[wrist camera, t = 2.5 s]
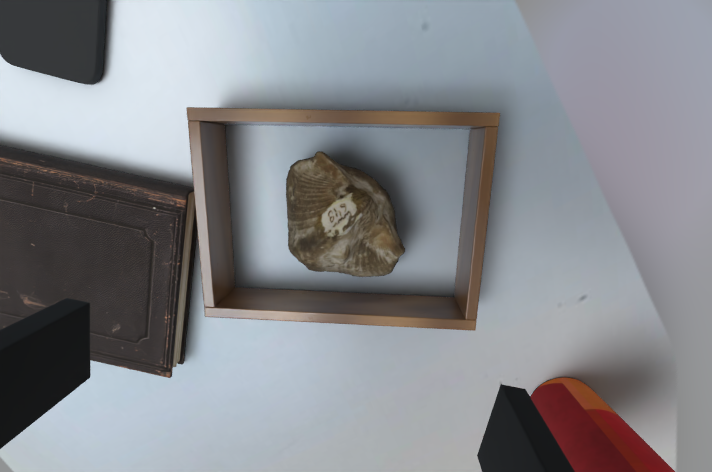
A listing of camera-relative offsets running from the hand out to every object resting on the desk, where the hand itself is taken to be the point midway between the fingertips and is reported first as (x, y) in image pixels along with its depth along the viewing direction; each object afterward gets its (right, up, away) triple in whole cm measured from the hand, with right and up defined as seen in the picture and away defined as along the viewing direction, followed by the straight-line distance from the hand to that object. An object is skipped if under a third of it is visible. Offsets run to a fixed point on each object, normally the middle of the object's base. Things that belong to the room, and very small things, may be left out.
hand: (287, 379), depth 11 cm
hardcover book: (-23, +3, +19) cm, 30 cm away
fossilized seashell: (+1, +6, +17) cm, 18 cm away
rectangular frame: (+1, +6, +17) cm, 18 cm away
